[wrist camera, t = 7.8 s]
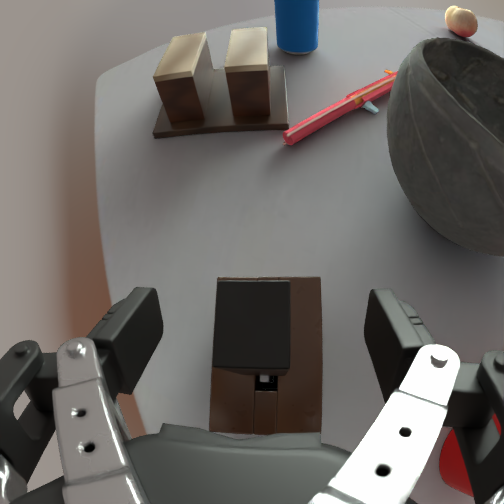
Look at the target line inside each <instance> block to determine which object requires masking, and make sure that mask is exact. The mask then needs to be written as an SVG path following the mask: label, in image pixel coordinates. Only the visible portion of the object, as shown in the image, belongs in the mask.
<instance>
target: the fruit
mask: <svg viewBox="0 0 504 504" xmlns="http://www.w3.org/2000/svg"><path fill="white" fill-rule="evenodd" d="M445 21H446V24H447V26H448V28H449V29H450V30H452V31H453V32H455V33H456V34H457V35H459V36H461V37H470V36H472V35H473V34H474V33H475V32H476V31H477V27H478V24H477V19H476V17H475V15H474V14H473V12H471V11H470V10H466V9H462V8H459V7H457V6H451V7H449V8H448V9H447V11H446V13H445Z"/></svg>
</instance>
